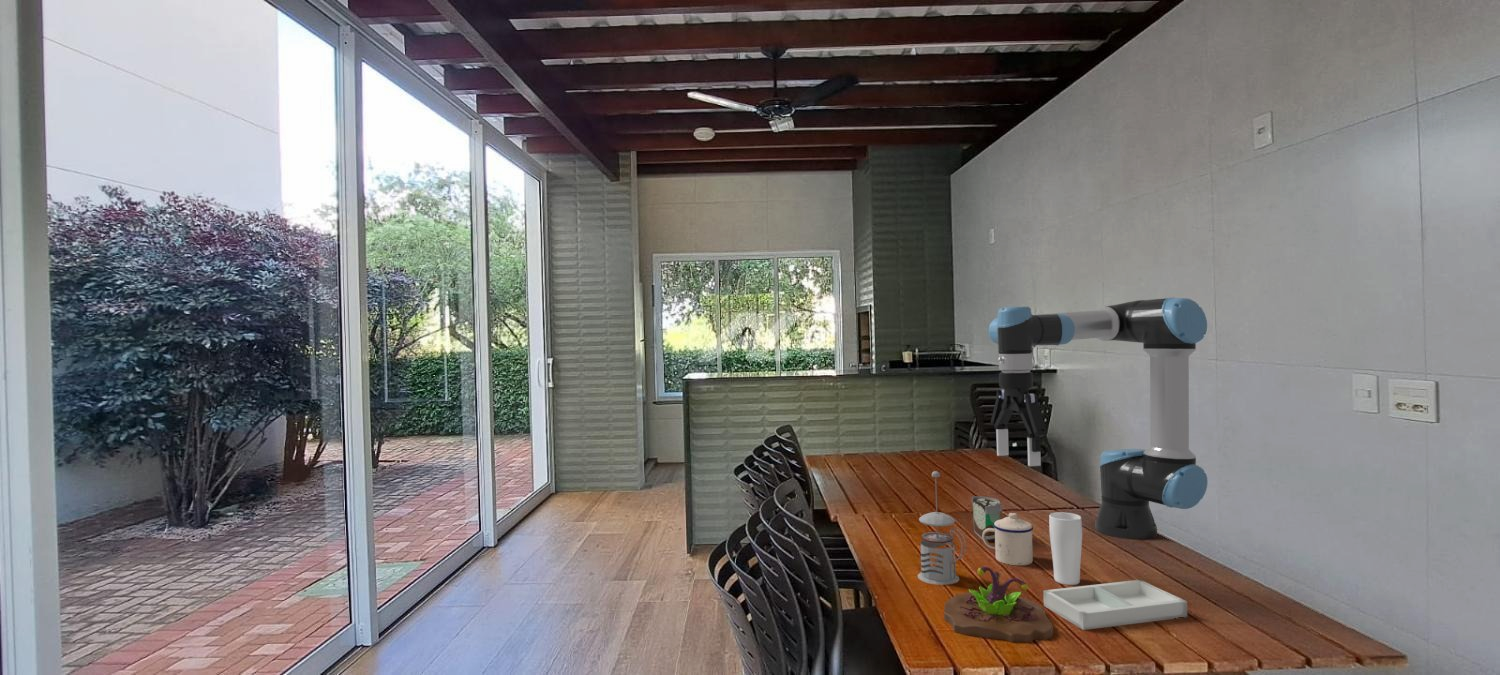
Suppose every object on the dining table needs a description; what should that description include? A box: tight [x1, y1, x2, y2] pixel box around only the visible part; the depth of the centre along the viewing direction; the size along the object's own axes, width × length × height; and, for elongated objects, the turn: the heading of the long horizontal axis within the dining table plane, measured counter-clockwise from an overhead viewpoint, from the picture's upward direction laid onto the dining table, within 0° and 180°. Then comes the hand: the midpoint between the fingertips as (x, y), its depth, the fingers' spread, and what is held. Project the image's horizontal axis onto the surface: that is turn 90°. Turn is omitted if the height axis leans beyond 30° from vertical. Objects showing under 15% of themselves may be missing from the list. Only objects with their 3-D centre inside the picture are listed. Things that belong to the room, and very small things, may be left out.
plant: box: [943, 566, 1054, 643], centre depth 132 cm, size 20×20×11 cm
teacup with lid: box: [982, 512, 1034, 567], centre depth 167 cm, size 12×9×12 cm
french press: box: [917, 470, 967, 586], centre depth 155 cm, size 10×12×25 cm
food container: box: [971, 495, 1003, 543], centre depth 186 cm, size 12×6×10 cm, turn 179°
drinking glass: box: [1048, 511, 1083, 586], centre depth 151 cm, size 7×7×15 cm
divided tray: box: [1042, 579, 1188, 631], centre depth 134 cm, size 23×12×4 cm, turn 101°
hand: (1017, 460), depth 159 cm, fingers open, 13 cm apart
